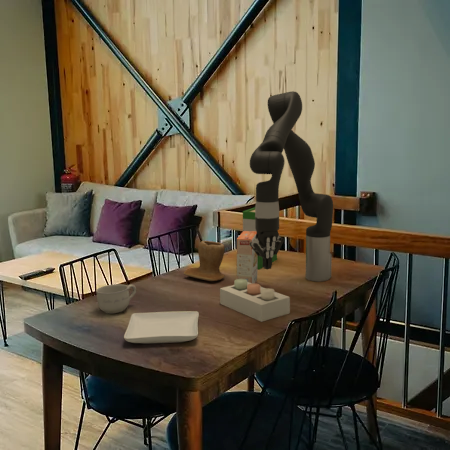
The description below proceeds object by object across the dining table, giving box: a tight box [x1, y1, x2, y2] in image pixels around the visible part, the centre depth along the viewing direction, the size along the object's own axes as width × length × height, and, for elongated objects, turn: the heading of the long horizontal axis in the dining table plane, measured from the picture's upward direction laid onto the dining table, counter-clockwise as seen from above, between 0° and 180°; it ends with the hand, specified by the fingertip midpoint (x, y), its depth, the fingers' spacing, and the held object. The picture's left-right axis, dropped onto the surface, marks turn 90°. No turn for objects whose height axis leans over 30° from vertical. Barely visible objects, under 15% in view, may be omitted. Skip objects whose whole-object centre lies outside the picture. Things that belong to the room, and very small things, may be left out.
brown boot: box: [183, 240, 226, 282], centre depth 226 cm, size 15×12×15 cm
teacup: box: [95, 283, 137, 314], centre depth 192 cm, size 14×11×8 cm
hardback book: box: [242, 206, 278, 271], centre depth 245 cm, size 18×7×24 cm, turn 150°
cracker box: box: [236, 230, 258, 284], centre depth 210 cm, size 14×6×21 cm, turn 168°
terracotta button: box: [247, 283, 262, 295], centre depth 191 cm, size 4×4×3 cm
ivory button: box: [261, 287, 275, 301], centre depth 185 cm, size 4×4×3 cm
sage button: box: [233, 278, 247, 290], centre depth 196 cm, size 4×4×3 cm
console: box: [219, 282, 291, 323], centre depth 191 cm, size 12×22×6 cm, turn 36°
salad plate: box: [123, 310, 200, 344], centre depth 172 cm, size 21×21×3 cm
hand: (267, 268), depth 183 cm, fingers closed
